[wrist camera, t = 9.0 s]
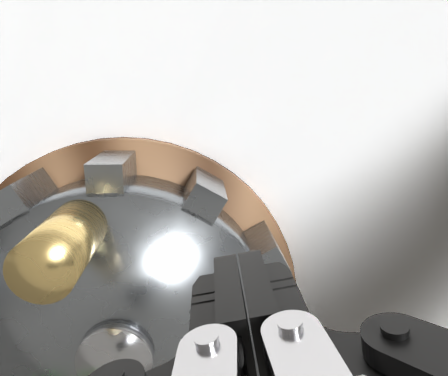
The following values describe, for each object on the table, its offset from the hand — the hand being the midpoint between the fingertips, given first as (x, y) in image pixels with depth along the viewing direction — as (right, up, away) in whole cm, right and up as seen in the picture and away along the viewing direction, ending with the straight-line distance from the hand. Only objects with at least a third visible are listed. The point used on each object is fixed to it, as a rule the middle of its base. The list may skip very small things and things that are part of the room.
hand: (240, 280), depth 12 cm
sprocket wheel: (-7, -5, +12) cm, 15 cm away
